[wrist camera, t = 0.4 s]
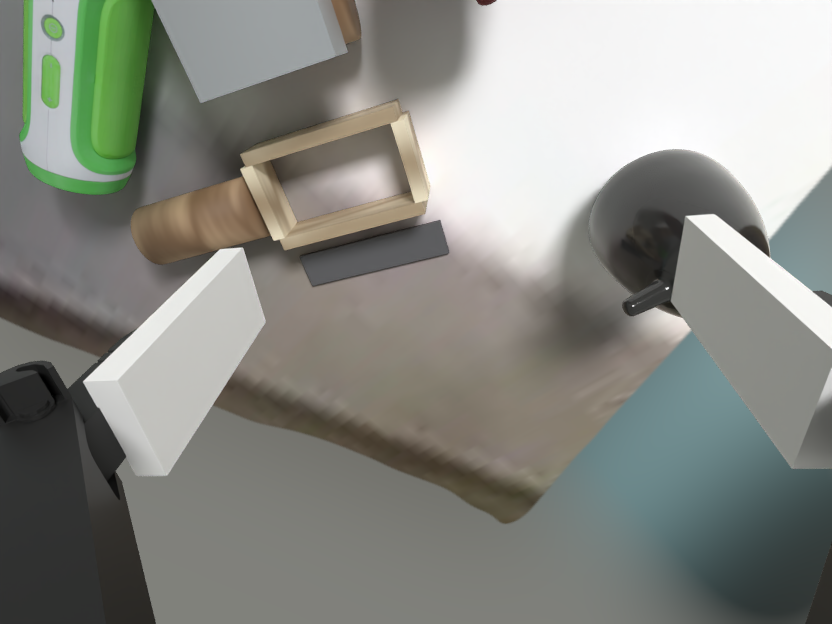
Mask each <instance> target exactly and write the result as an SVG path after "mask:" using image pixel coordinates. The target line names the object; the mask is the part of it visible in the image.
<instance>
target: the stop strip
mask: <svg viewBox="0 0 832 624" xmlns="http://www.w3.org/2000/svg"><path fill="white" fill-rule="evenodd" d="M448 253H449V249H448V246H447V242H446V239H445V235H444V232H443V228H442V225H441V221H440V220H438V221H434V222H431V223H427V224H423V225H419V226H415V227H411V228H407V229H403V230H399V231H395V232H391V233H387V234H384V235H380V236H376V237H372V238H368V239H364V240H360V241H356V242H352V243H348V244H344V245H341V246H337V247H333V248H329V249H325V250H321V251H317V252H313V253H309V254H305V255H301V256H300V259H301V261H302V264H303V266H304V268H305V270H306V272H307V275H308V277H309V279H310V281H311V284H312V286H314V285H318V284H323V283H327V282H331V281H335V280H339V279H343V278H348V277H352V276H356V275H360V274H364V273H368V272H373V271H377V270H381V269H385V268H389V267H393V266H398V265H402V264H406V263H410V262H414V261H418V260H423V259H427V258H431V257H435V256H439V255H443V254H448Z"/></svg>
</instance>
